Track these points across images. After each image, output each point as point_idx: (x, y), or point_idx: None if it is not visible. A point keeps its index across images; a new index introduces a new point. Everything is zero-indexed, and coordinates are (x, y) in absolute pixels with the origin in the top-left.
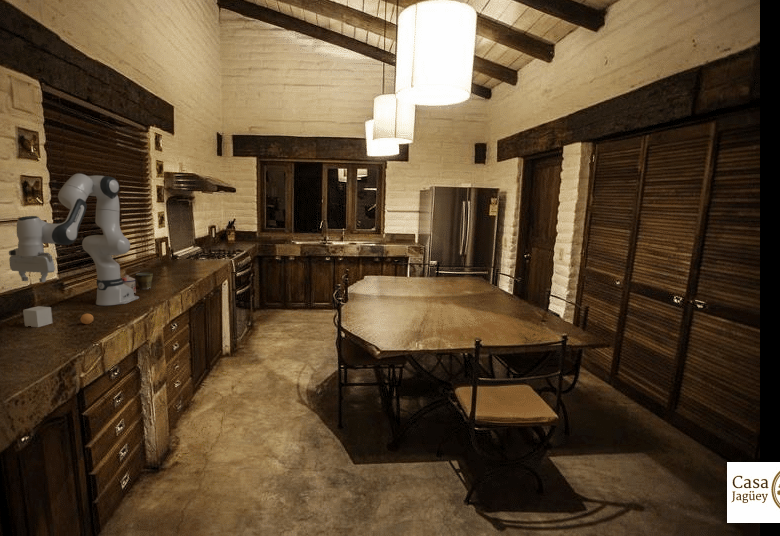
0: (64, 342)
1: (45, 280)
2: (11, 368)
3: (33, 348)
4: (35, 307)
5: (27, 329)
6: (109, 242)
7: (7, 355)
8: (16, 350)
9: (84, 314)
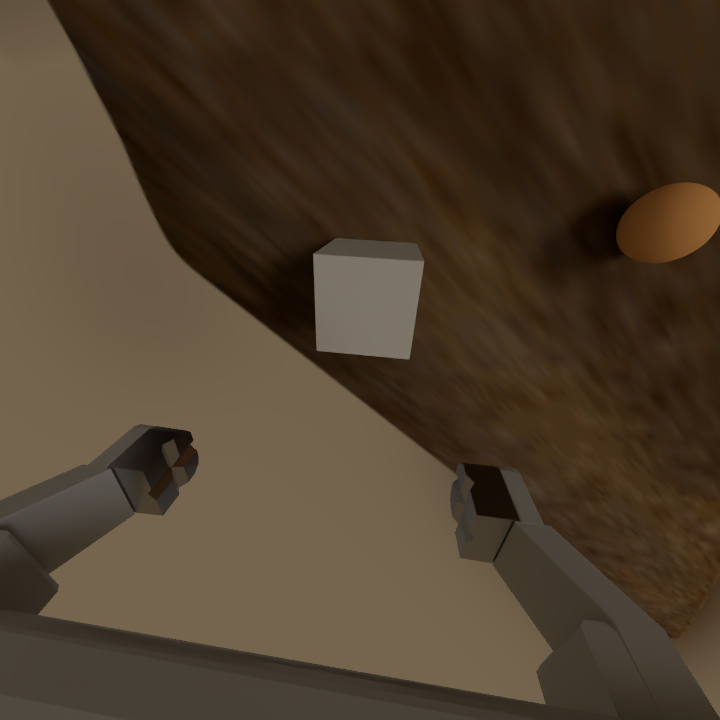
0: (647, 461)
1: (521, 484)
2: None
3: (570, 500)
4: (328, 287)
5: None
6: None
7: None
8: None
9: (680, 241)
